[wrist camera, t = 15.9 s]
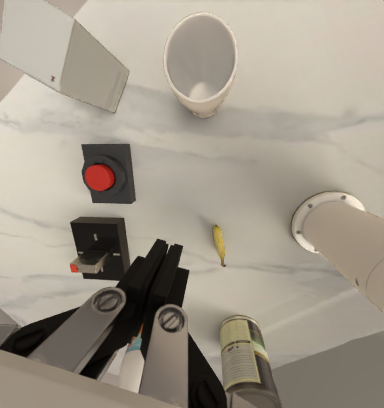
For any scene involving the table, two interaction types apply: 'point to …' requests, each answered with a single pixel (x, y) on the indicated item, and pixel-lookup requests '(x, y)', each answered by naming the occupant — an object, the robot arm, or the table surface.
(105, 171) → the red push button
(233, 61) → the drinking glass
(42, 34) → the white packaging box
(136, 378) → the milk bottle
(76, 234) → the black flat block
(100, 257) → the red-tagged slide lever
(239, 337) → the coffee can
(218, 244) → the banana
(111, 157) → the box
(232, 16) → the table surface
